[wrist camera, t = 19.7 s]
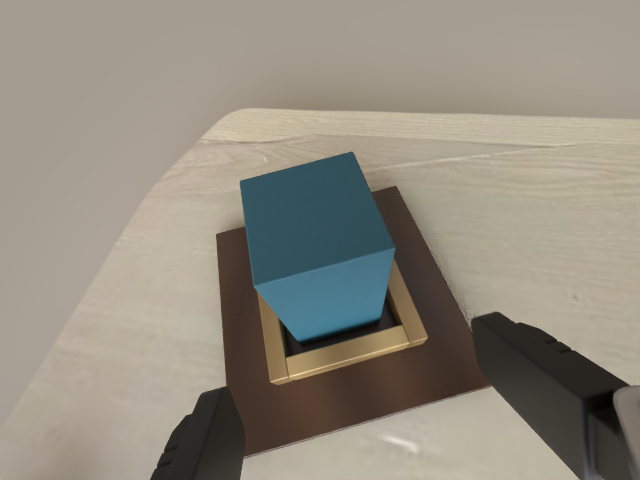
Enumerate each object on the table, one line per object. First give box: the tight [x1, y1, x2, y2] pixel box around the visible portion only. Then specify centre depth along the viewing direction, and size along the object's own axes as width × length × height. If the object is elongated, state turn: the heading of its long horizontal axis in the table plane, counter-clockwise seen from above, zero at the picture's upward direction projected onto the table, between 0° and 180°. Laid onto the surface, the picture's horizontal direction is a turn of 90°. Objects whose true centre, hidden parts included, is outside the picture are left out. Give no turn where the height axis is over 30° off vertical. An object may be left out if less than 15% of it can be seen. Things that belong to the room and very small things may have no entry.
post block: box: [240, 152, 395, 345], centre depth 15 cm, size 5×5×9 cm
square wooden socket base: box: [216, 186, 492, 459], centre depth 18 cm, size 14×14×2 cm
